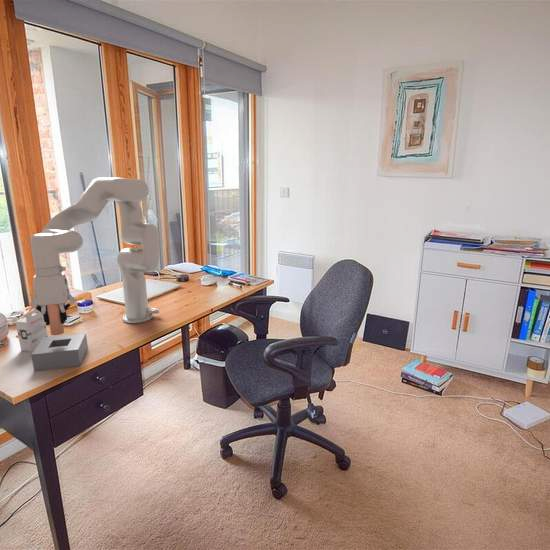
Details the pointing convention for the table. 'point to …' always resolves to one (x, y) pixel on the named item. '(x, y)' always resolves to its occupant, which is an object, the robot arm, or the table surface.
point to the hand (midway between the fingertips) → (56, 322)
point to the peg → (55, 319)
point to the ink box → (31, 330)
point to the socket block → (60, 351)
